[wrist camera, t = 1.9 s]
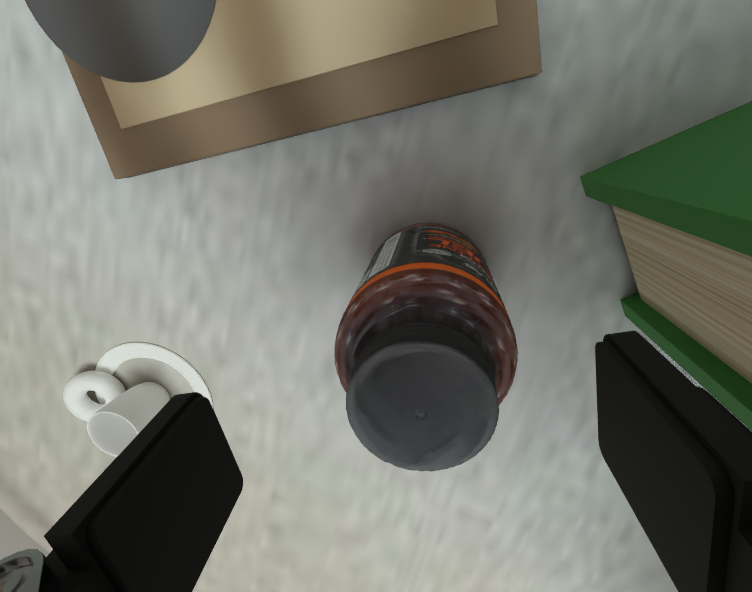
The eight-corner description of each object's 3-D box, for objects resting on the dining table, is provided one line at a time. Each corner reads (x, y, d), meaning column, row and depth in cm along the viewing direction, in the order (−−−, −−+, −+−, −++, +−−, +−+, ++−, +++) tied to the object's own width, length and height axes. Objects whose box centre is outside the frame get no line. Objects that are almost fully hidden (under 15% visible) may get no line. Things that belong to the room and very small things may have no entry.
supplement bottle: (511, 257, 20) (599, 388, 10) (445, 349, 22) (458, 536, 12) (405, 196, 20) (377, 262, 9) (349, 295, 22) (274, 440, 11)
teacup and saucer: (74, 397, 27) (17, 438, 24) (109, 307, 25) (51, 338, 21) (189, 462, 28) (152, 512, 25) (236, 383, 25) (202, 426, 22)
